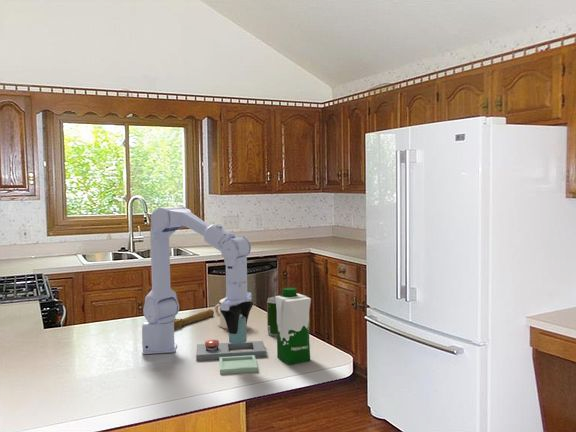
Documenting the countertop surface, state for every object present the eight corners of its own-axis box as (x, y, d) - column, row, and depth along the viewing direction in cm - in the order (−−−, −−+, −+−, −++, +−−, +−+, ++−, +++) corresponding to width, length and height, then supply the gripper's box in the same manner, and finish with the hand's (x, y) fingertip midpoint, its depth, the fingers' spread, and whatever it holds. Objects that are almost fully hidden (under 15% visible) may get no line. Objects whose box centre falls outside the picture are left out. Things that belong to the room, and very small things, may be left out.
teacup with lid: (250, 324, 186) (249, 292, 185) (235, 330, 178) (234, 297, 177) (223, 320, 192) (222, 289, 191) (207, 326, 184) (206, 293, 183)
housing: (196, 360, 148) (196, 355, 148) (197, 349, 158) (197, 344, 158) (266, 356, 151) (266, 350, 151) (262, 345, 161) (262, 340, 161)
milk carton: (299, 352, 154) (298, 285, 153) (315, 361, 146) (314, 291, 145) (273, 357, 150) (272, 288, 149) (287, 366, 142) (286, 294, 141)
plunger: (205, 355, 151) (205, 344, 151) (205, 351, 155) (205, 340, 155) (219, 354, 152) (218, 343, 152) (218, 350, 156) (218, 339, 156)
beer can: (273, 337, 170) (272, 301, 169) (264, 333, 174) (264, 298, 174) (286, 334, 173) (286, 298, 172) (278, 330, 177) (277, 296, 176)
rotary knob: (240, 344, 139) (239, 319, 139) (225, 342, 142) (224, 317, 141) (249, 339, 144) (248, 314, 143) (235, 337, 146) (234, 312, 145)
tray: (220, 374, 137) (219, 369, 137) (219, 361, 147) (219, 357, 147) (257, 371, 139) (257, 367, 138) (254, 359, 148) (254, 355, 148)
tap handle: (214, 309, 198) (156, 327, 173) (214, 317, 198) (156, 336, 173) (208, 308, 200) (149, 326, 174) (208, 316, 200) (150, 335, 174)
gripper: (237, 287, 133) (238, 339, 134) (260, 277, 147) (261, 325, 148) (213, 285, 136) (214, 336, 137) (238, 276, 149) (239, 323, 150)
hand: (237, 330), depth 142 cm, fingers closed on rotary knob, 5 cm apart
